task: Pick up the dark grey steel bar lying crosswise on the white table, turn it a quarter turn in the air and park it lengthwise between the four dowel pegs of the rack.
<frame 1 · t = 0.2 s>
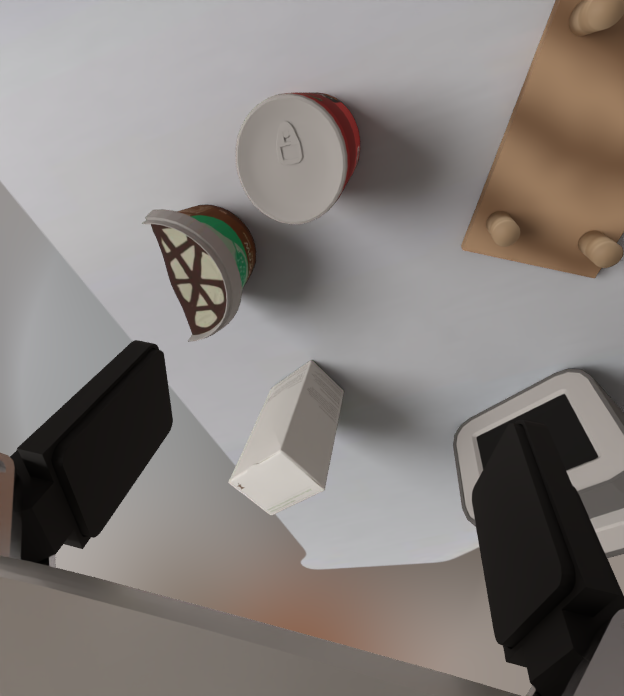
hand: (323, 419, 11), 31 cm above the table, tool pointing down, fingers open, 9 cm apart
alarm clock: (537, 424, 47), on the table
canned food: (318, 145, 35), on the table
food container: (239, 245, 42), on the table
skincare box: (306, 387, 51), on the table
rack: (582, 141, 31), on the table
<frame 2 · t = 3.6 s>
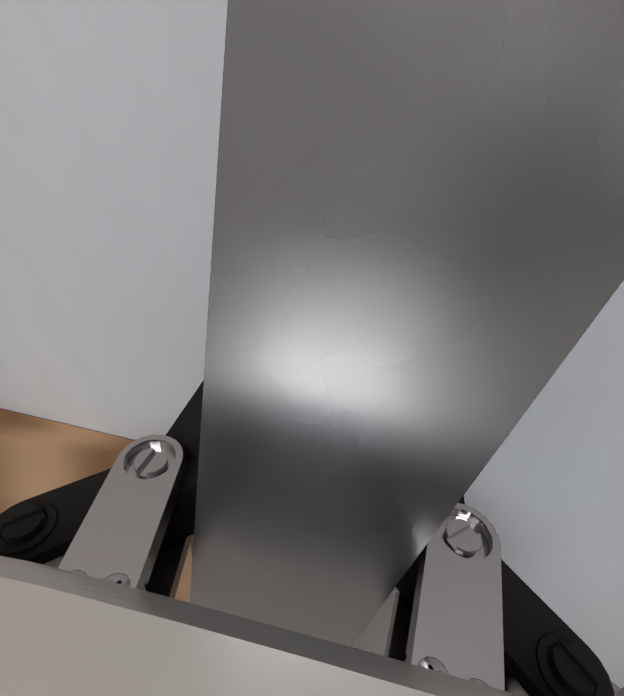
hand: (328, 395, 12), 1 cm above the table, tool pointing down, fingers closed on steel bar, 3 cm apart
steel bar: (332, 382, 12), on the table, touching gripper
rack: (17, 489, 20), on the table
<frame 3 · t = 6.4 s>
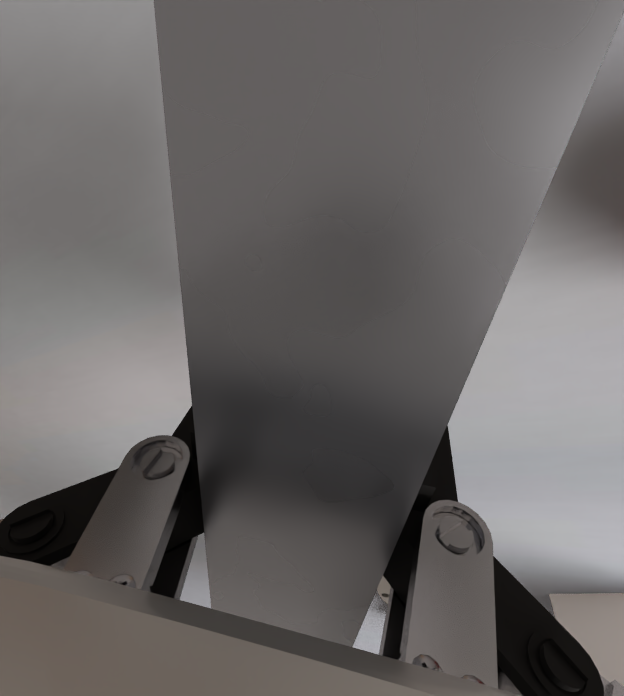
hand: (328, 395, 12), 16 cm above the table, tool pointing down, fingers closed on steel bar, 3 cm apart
milk: (617, 622, 41), on the table
steel bar: (334, 375, 12), point 15 cm above the table, touching gripper
when the fingers open (3 cm above the table, at t = 9.5 s): steel bar stays where it is, resting on rack.
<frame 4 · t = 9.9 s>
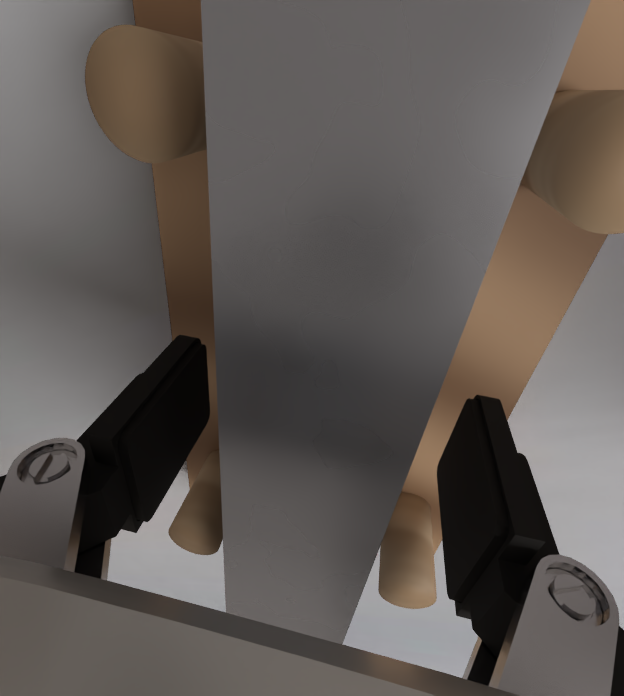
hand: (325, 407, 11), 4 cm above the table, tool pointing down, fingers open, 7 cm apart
steel bar: (337, 366, 13), point 1 cm above the table, touching rack
rack: (342, 339, 14), on the table
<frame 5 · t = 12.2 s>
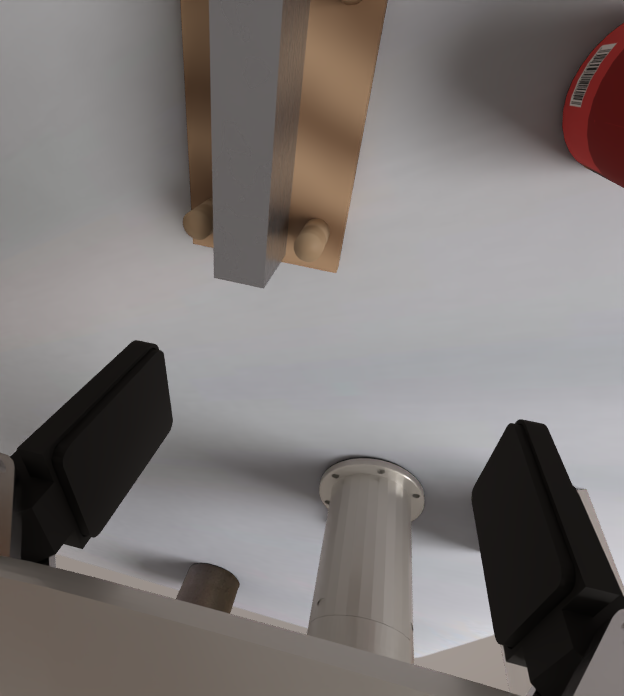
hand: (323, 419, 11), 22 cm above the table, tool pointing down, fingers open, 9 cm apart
milk: (531, 523, 46), on the table
pillar candle: (214, 575, 71), on the table
steel bar: (272, 122, 26), point 1 cm above the table, touching rack
rack: (277, 114, 27), on the table
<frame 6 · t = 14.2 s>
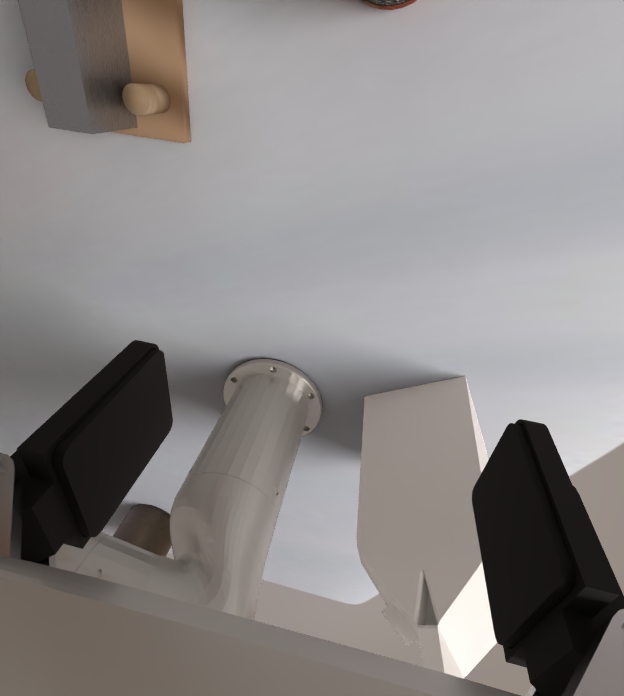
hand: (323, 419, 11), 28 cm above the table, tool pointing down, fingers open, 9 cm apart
milk: (426, 423, 47), on the table
pillar candle: (154, 519, 72), on the table
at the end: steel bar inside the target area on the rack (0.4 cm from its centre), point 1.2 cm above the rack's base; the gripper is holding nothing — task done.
